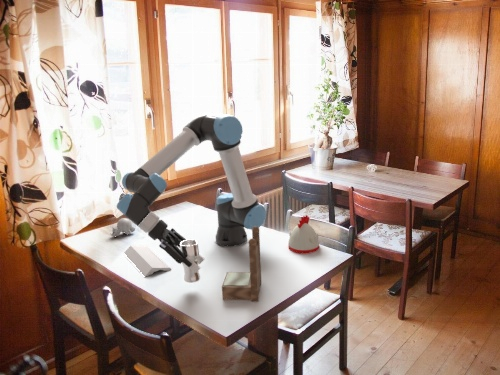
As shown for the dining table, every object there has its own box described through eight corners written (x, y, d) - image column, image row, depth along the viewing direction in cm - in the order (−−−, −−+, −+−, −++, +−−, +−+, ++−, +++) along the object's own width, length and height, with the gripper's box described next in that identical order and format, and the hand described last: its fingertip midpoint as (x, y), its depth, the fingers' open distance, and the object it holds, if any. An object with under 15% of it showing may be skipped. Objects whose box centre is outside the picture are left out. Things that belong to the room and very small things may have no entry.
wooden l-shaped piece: (222, 301, 172) (218, 240, 165) (228, 282, 186) (224, 225, 180) (258, 301, 171) (255, 240, 164) (261, 282, 185) (259, 225, 178)
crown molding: (171, 270, 200) (170, 262, 199) (143, 278, 194) (142, 270, 192) (148, 248, 223) (147, 241, 222) (122, 255, 217) (121, 247, 216)
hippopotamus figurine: (112, 240, 241) (104, 227, 238) (132, 226, 246) (124, 213, 242) (117, 244, 236) (109, 230, 232) (137, 230, 240) (129, 217, 237)
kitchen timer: (324, 246, 216) (324, 215, 212) (307, 256, 206) (307, 224, 202) (300, 239, 225) (299, 209, 221) (282, 248, 215) (281, 217, 211)
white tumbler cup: (179, 279, 180) (175, 243, 176) (193, 273, 185) (190, 237, 181) (190, 285, 176) (186, 248, 171) (205, 278, 180) (201, 242, 176)
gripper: (155, 223, 186) (199, 260, 189) (139, 243, 167) (188, 284, 170) (166, 210, 184) (211, 248, 187) (151, 229, 165) (201, 271, 168)
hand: (200, 265), depth 178 cm, fingers closed on white tumbler cup, 7 cm apart
